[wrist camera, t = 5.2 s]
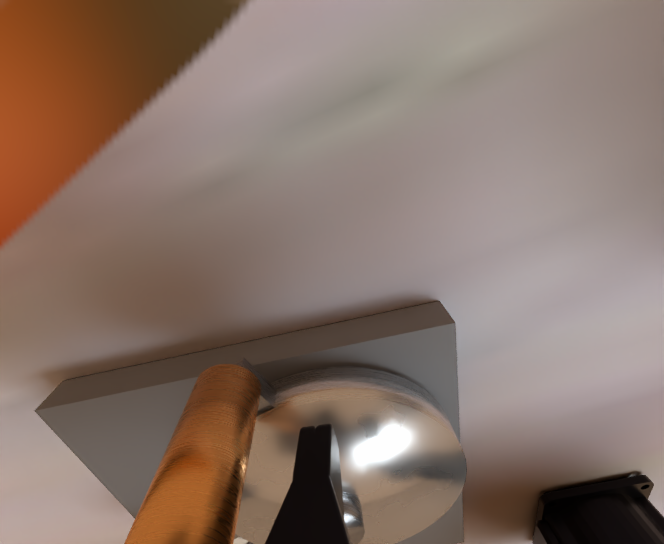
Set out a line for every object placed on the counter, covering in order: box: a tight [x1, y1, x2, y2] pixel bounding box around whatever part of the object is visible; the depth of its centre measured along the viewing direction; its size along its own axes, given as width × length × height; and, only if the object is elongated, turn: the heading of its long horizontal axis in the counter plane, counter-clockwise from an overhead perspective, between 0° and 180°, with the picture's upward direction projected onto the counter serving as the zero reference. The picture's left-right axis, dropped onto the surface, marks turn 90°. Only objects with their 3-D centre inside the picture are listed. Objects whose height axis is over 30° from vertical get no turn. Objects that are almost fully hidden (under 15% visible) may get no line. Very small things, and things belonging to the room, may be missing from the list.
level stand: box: [35, 301, 464, 544], centre depth 15 cm, size 16×16×2 cm
